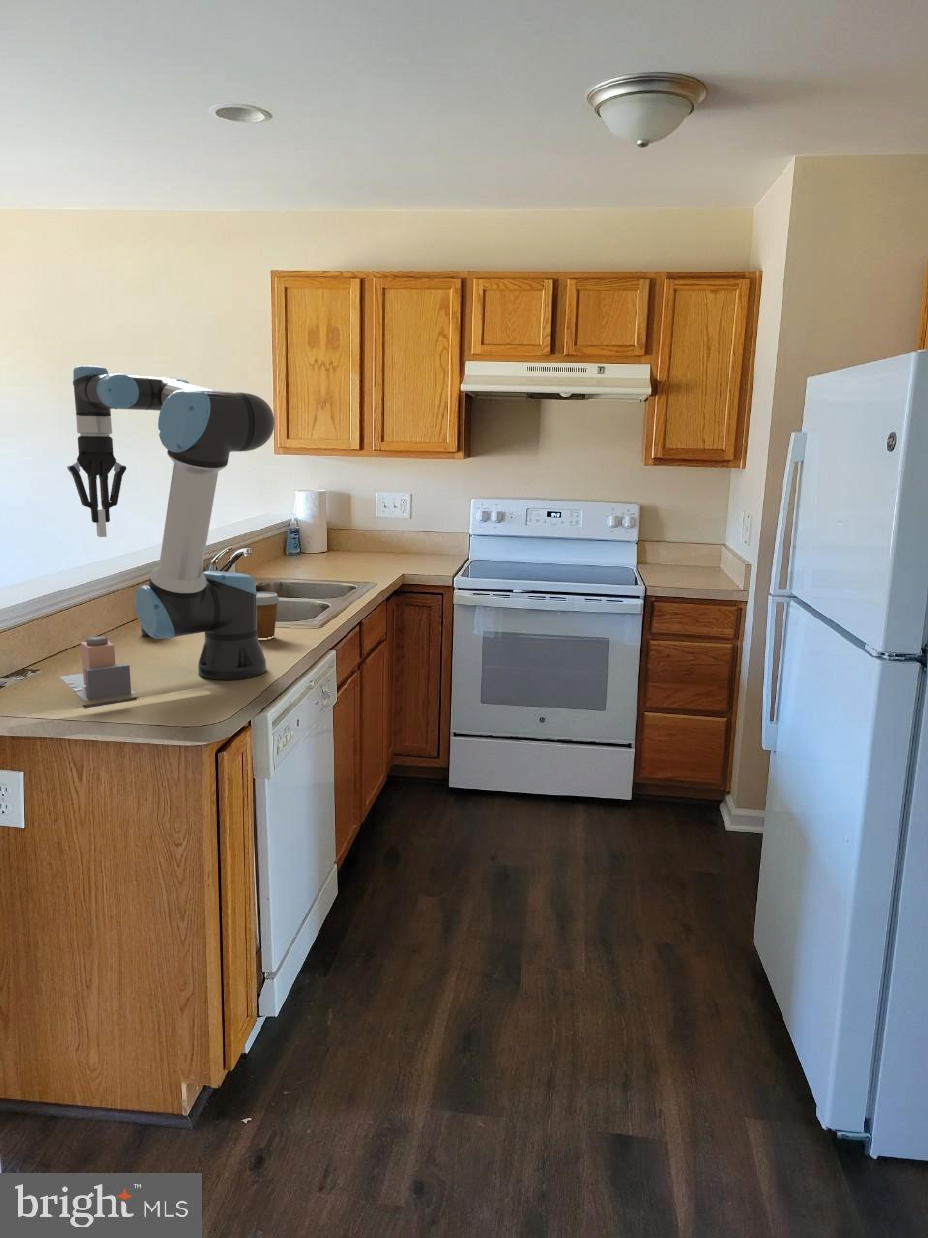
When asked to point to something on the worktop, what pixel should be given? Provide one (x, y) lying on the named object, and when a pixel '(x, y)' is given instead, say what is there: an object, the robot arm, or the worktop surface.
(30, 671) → the worktop surface
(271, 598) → the disposable coffee cup
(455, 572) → the worktop surface
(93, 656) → the terracotta plug block
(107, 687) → the slate track
